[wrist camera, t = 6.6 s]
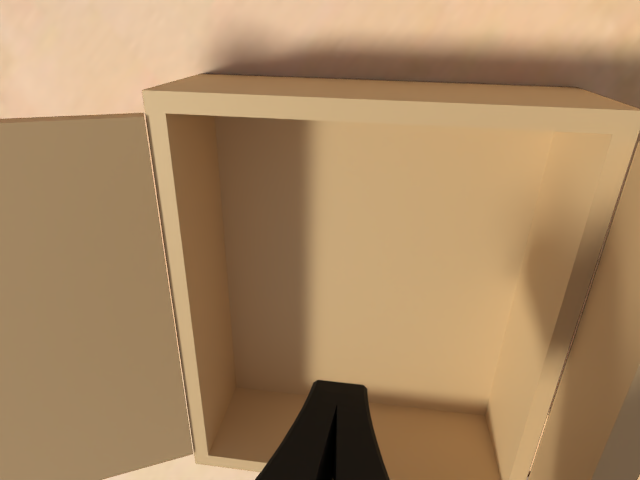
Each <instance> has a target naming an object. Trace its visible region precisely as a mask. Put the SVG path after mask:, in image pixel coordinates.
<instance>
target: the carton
mask: <svg viewBox="0 0 640 480" xmlns="http://www.w3.org/2000/svg"><path fill="white" fill-rule="evenodd" d="M142 94H143V101H144V108H145V115H146V122H147V129H148V136H149V143H150V150H151V157H152V164H153V171H154V178H155V185H156V192H157V199H158V206H159V212H160V219H161V226H162V233H163V240H164V247H165V254H166V261H167V268H168V275H169V282H170V289H171V296H172V303H173V310H174V317H175V324H176V331H177V338H178V345H179V351H180V358H181V365H182V372H183V379H184V386H185V393H186V400H187V407H188V414H189V421H190V428H191V435H192V442H193V449H194V456H195V463H196V464H203V465H210V466H218V467H225V468H233V469H240V470H248V471H255V472H261V471H262V470H263V468H264V467H265V465H266V464H267V463H268V461H269V460H270V458H271V457H272V455H273V454H274V453H275V451H276V450H277V448H278V447H279V445H280V444H281V442H282V441H283V439H284V438H285V436H286V434H287V433H288V431H289V429H290V428H291V426H292V424H293V423H294V421H295V419H296V418H297V416H298V414H299V412H300V410H301V409H302V407H303V405H304V403H305V401H306V399H307V397H308V394H309V392H310V390H311V387H312V385H313V382H315V381H317V380H324V381H333V382H343V383H352V384H361V385H364V386H365V387H366V388H367V393H368V403H369V409H370V415H371V419H372V423H373V428H374V432H375V435H376V439H377V442H378V446H379V449H380V452H381V455H382V459H383V462H384V465H385V468H386V470H387V473H388V476H389V479H390V480H526V479H527V476H528V473H529V470H530V467H531V464H532V461H533V458H534V455H535V452H536V448H537V445H538V442H539V439H540V436H541V433H542V430H543V427H544V424H545V421H546V418H547V415H548V411H549V408H550V405H551V402H552V399H553V396H554V393H555V390H556V387H557V384H558V381H559V378H560V375H561V371H562V368H563V365H564V362H565V359H566V356H567V353H568V350H569V347H570V344H571V341H572V338H573V335H574V331H575V328H576V325H577V322H578V319H579V316H580V313H581V310H582V307H583V304H584V301H585V298H586V294H587V291H588V288H589V285H590V282H591V279H592V276H593V273H594V270H595V267H596V264H597V261H598V258H599V254H600V251H601V248H602V245H603V242H604V239H605V236H606V233H607V230H608V227H609V224H610V221H611V218H612V214H613V211H614V208H615V205H616V202H617V199H618V196H619V193H620V190H621V187H622V184H623V181H624V177H625V174H626V171H627V168H628V165H629V162H630V159H631V156H632V153H633V150H634V147H635V144H636V141H637V137H638V134H639V131H640V109H639V108H636V107H633V106H630V105H627V104H624V103H621V102H618V101H616V100H613V99H610V98H607V97H604V96H601V95H598V94H595V93H592V92H589V91H586V90H583V89H580V88H578V87H554V86H527V85H499V84H472V83H444V82H417V81H390V80H362V79H335V78H307V77H280V76H252V75H225V74H198V75H195V76H191V77H187V78H184V79H180V80H177V81H173V82H170V83H166V84H162V85H159V86H155V87H152V88H148V89H144V90H142Z"/></svg>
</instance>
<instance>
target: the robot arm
mask: <svg viewBox="0 0 640 480" xmlns="http://www.w3.org/2000/svg"><path fill="white" fill-rule="evenodd" d="M528 478H529V477H527V479H526V480H528ZM255 480H390V479H389V476H388V473H387V470H386V468H385V465H384V462H383V459H382V455H381V452H380V449H379V446H378V442H377V439H376V435H375V432H374V428H373V423H372V419H371V415H370V409H369V403H368V393H367V388H366V387H365V386H364V385H361V384H352V383H343V382H333V381H324V380H317V381H315V382H313V385H312V387H311V390H310V392H309V394H308V397H307V399H306V401H305V403H304V405H303V407H302V409H301V410H300V412H299V414H298V416H297V418H296V419H295V421H294V423H293V424H292V426H291V428H290V429H289V431H288V433H287V434H286V436H285V438H284V439H283V441H282V442H281V444H280V445H279V447H278V448H277V450H276V451H275V453H274V454H273V455H272V457H271V458H270V460H269V461H268V463H267V464H266V465H265V467H264V468H263V470H262V471H261V472H260V474H259V475H258V476H257V478H256V479H255Z"/></svg>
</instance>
